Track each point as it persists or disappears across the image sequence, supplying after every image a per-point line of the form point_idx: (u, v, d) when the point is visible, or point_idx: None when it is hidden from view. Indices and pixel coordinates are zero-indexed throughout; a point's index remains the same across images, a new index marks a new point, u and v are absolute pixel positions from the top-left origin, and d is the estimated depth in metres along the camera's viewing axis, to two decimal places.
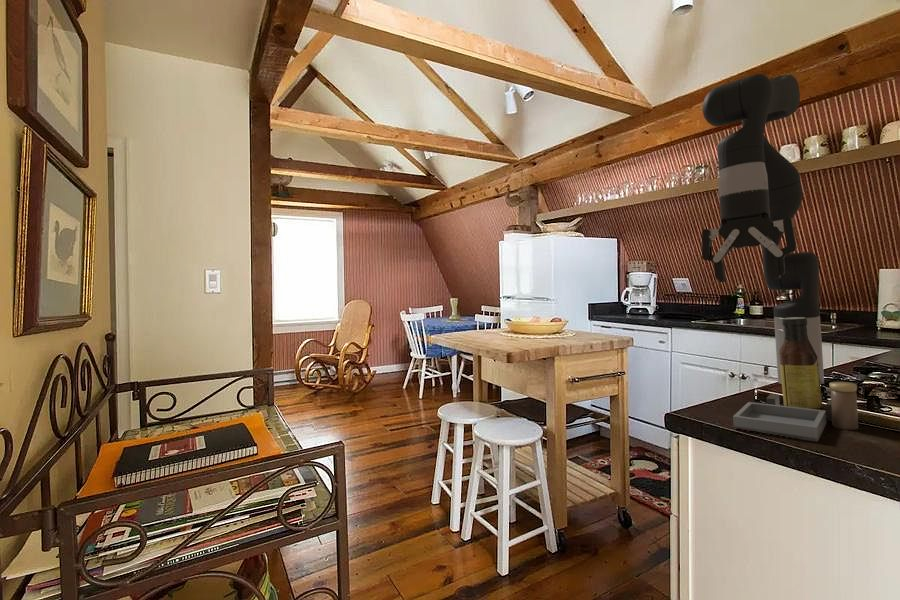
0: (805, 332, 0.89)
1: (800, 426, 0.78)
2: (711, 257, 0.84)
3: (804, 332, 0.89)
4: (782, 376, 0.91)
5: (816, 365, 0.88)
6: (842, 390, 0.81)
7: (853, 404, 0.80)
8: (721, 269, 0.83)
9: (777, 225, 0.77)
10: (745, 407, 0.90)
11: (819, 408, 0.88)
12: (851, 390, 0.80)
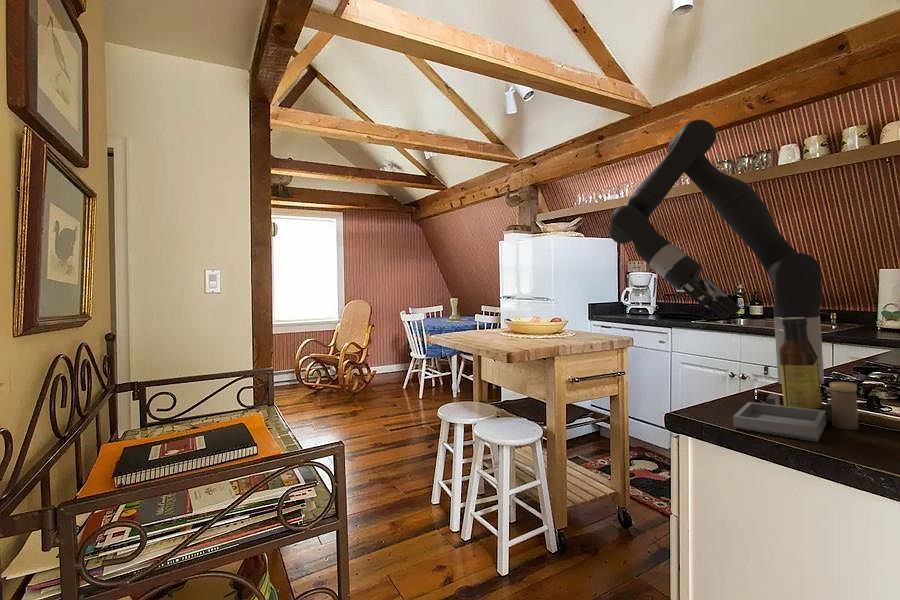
0: (805, 332, 0.89)
1: (800, 426, 0.78)
2: None
3: (804, 332, 0.89)
4: (782, 376, 0.91)
5: (816, 365, 0.88)
6: (842, 390, 0.81)
7: (853, 404, 0.80)
8: (722, 304, 0.96)
9: None
10: (745, 407, 0.90)
11: (819, 408, 0.88)
12: (851, 390, 0.80)
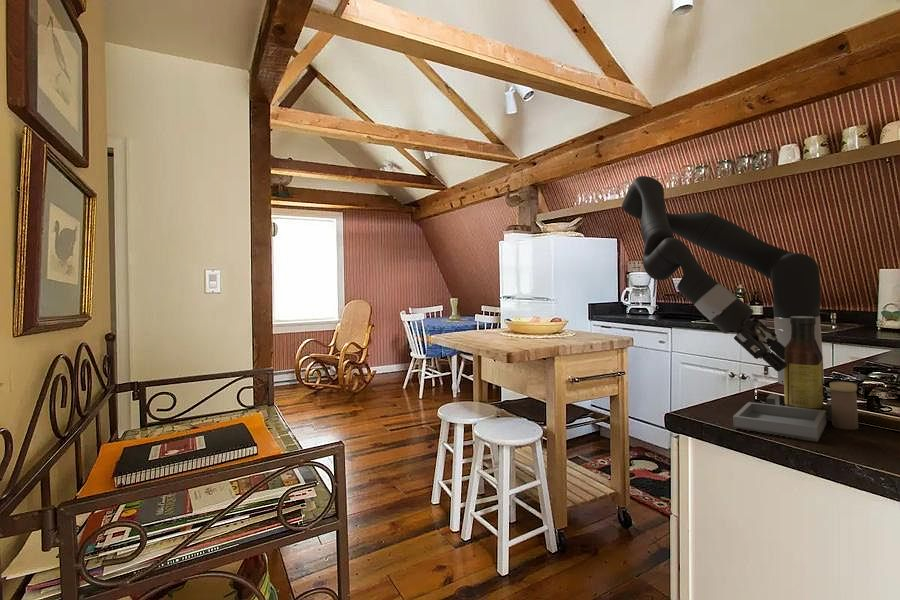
0: (812, 332, 0.88)
1: (800, 426, 0.78)
2: None
3: (811, 332, 0.88)
4: (785, 374, 0.91)
5: (821, 365, 0.87)
6: (842, 390, 0.81)
7: (853, 404, 0.80)
8: (777, 356, 0.91)
9: None
10: (745, 407, 0.90)
11: (820, 408, 0.88)
12: (851, 390, 0.80)
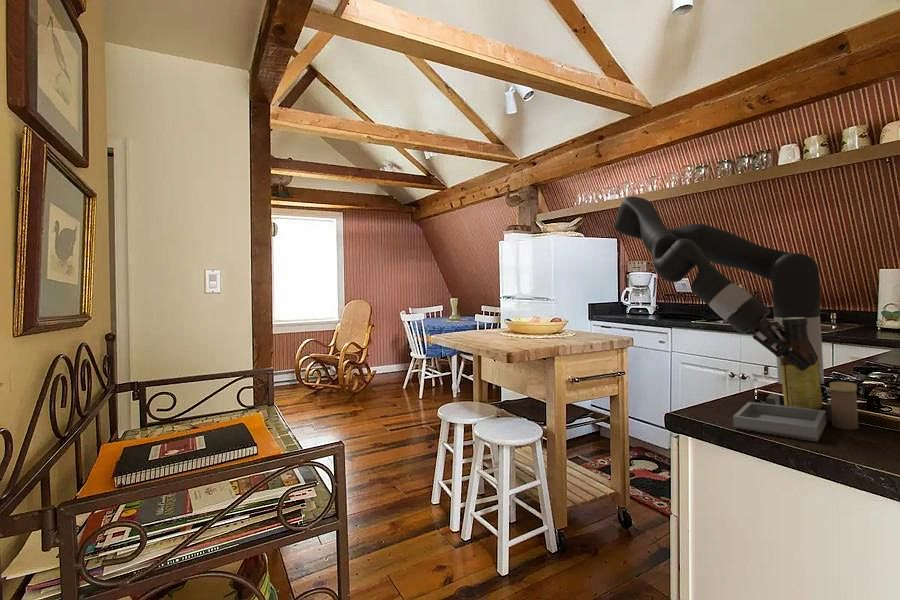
0: (805, 332, 0.89)
1: (800, 426, 0.78)
2: None
3: (804, 332, 0.89)
4: (783, 376, 0.91)
5: (817, 365, 0.88)
6: (842, 390, 0.81)
7: (853, 404, 0.80)
8: (800, 355, 0.88)
9: None
10: (745, 407, 0.90)
11: (820, 408, 0.88)
12: (851, 390, 0.80)
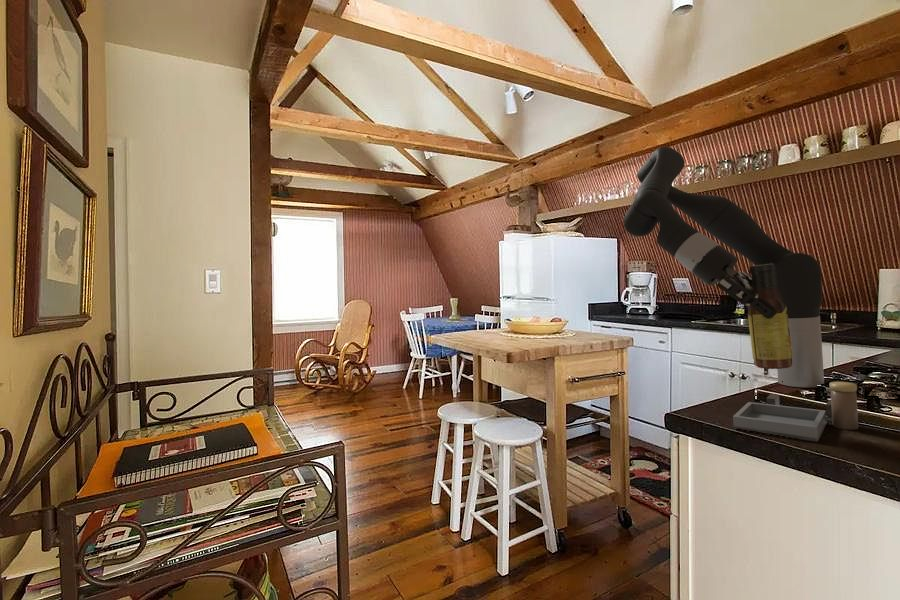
0: (773, 279, 0.83)
1: (800, 426, 0.78)
2: None
3: (772, 279, 0.83)
4: (750, 327, 0.86)
5: (785, 313, 0.82)
6: (842, 390, 0.81)
7: (853, 404, 0.80)
8: (767, 302, 0.82)
9: None
10: (745, 407, 0.90)
11: (789, 358, 0.82)
12: (851, 390, 0.80)
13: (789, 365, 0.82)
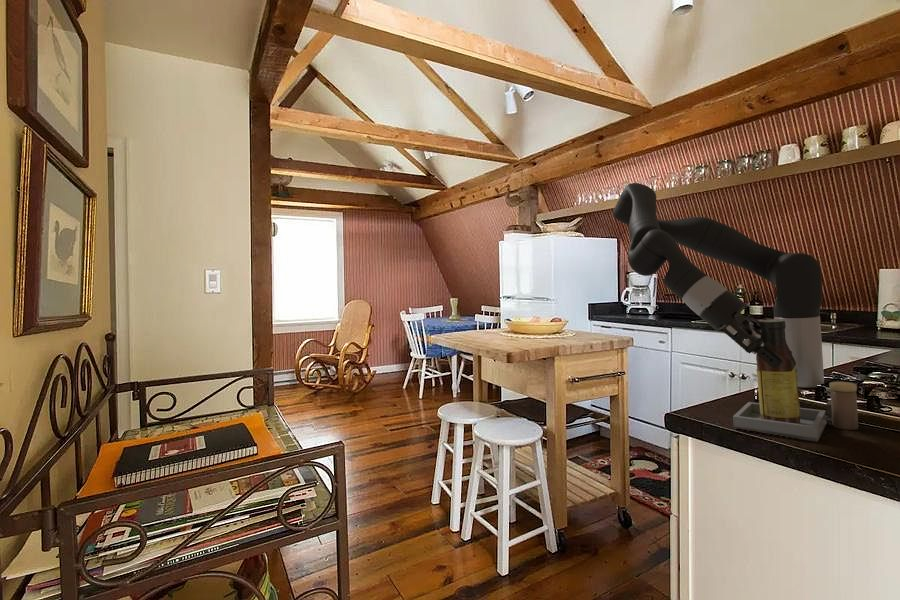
0: (783, 336, 0.83)
1: (800, 426, 0.78)
2: None
3: (782, 336, 0.83)
4: (759, 383, 0.85)
5: (794, 371, 0.82)
6: (842, 390, 0.81)
7: (853, 404, 0.80)
8: (772, 350, 0.81)
9: None
10: (745, 407, 0.90)
11: (797, 417, 0.82)
12: (851, 390, 0.80)
13: None
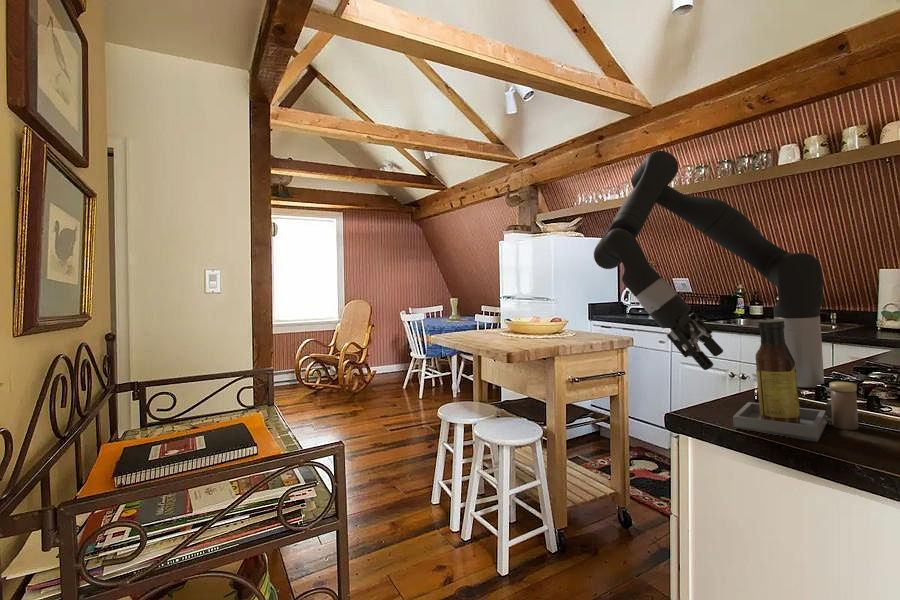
0: (782, 336, 0.83)
1: (800, 426, 0.78)
2: None
3: (781, 336, 0.83)
4: (758, 383, 0.86)
5: (794, 371, 0.82)
6: (842, 390, 0.81)
7: (853, 404, 0.80)
8: (705, 355, 0.93)
9: (691, 319, 1.01)
10: (745, 407, 0.90)
11: (797, 417, 0.82)
12: (851, 390, 0.80)
13: None
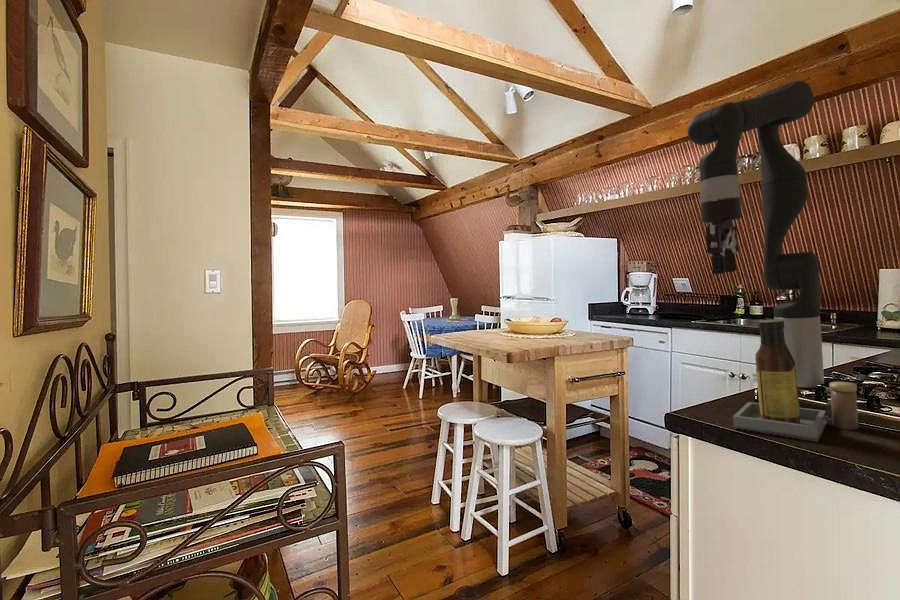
0: (782, 336, 0.83)
1: (800, 426, 0.78)
2: None
3: (781, 336, 0.83)
4: (758, 383, 0.86)
5: (794, 371, 0.82)
6: (842, 390, 0.81)
7: (853, 404, 0.80)
8: (724, 261, 0.94)
9: None
10: (745, 407, 0.90)
11: (797, 417, 0.82)
12: (851, 390, 0.80)
13: None
